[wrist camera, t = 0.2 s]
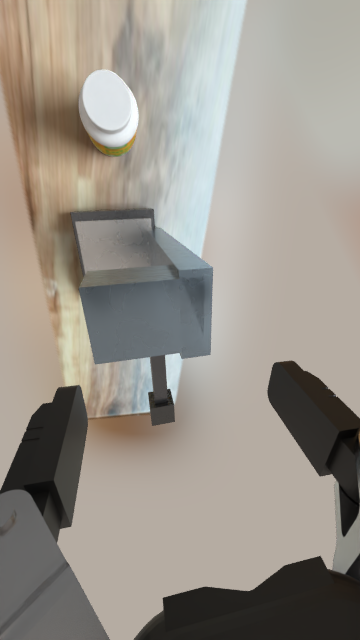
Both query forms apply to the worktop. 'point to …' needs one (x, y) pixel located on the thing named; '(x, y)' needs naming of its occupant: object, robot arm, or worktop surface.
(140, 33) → the worktop surface
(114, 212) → the arbor press
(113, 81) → the supplement bottle
